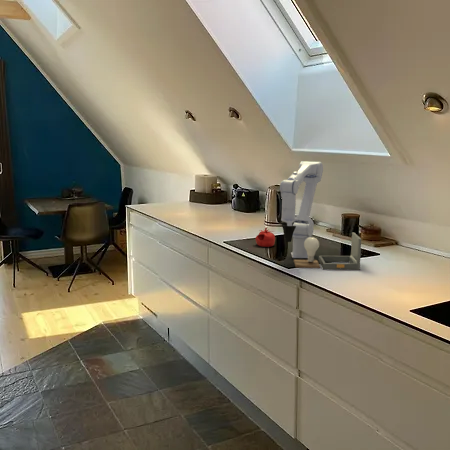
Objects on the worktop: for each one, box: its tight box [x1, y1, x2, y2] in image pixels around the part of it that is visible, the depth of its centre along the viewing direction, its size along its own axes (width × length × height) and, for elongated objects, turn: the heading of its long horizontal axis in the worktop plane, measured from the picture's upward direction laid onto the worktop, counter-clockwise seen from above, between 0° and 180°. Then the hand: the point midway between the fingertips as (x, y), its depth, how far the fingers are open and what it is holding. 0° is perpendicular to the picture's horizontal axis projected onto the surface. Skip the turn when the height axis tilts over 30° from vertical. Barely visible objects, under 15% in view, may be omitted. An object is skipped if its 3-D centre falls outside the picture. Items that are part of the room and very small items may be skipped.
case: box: [318, 232, 362, 271], centre depth 229 cm, size 14×15×13 cm
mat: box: [293, 259, 321, 269], centre depth 232 cm, size 10×10×1 cm
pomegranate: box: [255, 227, 276, 248], centre depth 268 cm, size 10×10×9 cm
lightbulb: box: [304, 236, 320, 263], centre depth 231 cm, size 6×6×11 cm
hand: (287, 239), depth 232 cm, fingers open, 7 cm apart
